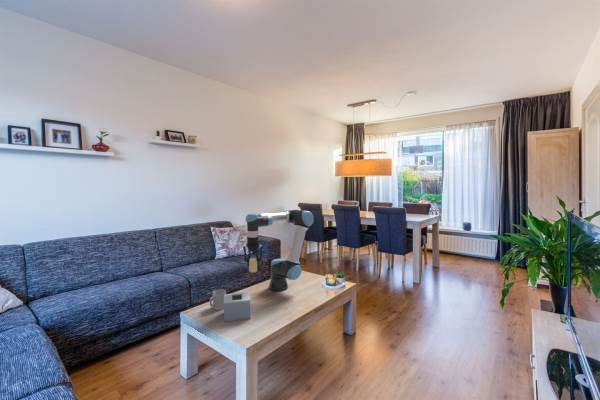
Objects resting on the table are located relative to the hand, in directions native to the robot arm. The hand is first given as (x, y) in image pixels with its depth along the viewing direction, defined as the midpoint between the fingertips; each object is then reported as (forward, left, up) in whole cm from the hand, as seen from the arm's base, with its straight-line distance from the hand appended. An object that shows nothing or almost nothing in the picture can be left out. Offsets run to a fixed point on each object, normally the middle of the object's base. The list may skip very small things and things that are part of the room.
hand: (253, 270), depth 200 cm
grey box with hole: (+11, +13, -25) cm, 30 cm away
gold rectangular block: (0, 0, 0) cm, 0 cm away
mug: (+24, -1, -25) cm, 34 cm away
